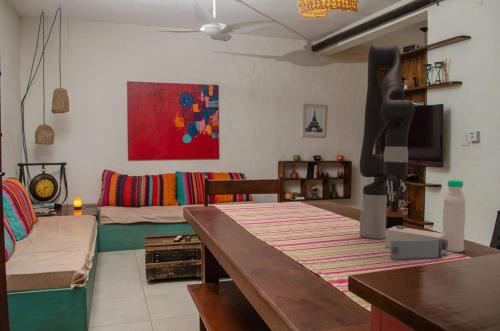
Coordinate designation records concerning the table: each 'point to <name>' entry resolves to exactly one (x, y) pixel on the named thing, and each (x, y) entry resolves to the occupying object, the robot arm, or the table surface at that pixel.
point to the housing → (413, 236)
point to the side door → (416, 249)
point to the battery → (394, 218)
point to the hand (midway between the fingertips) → (394, 212)
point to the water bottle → (454, 216)
